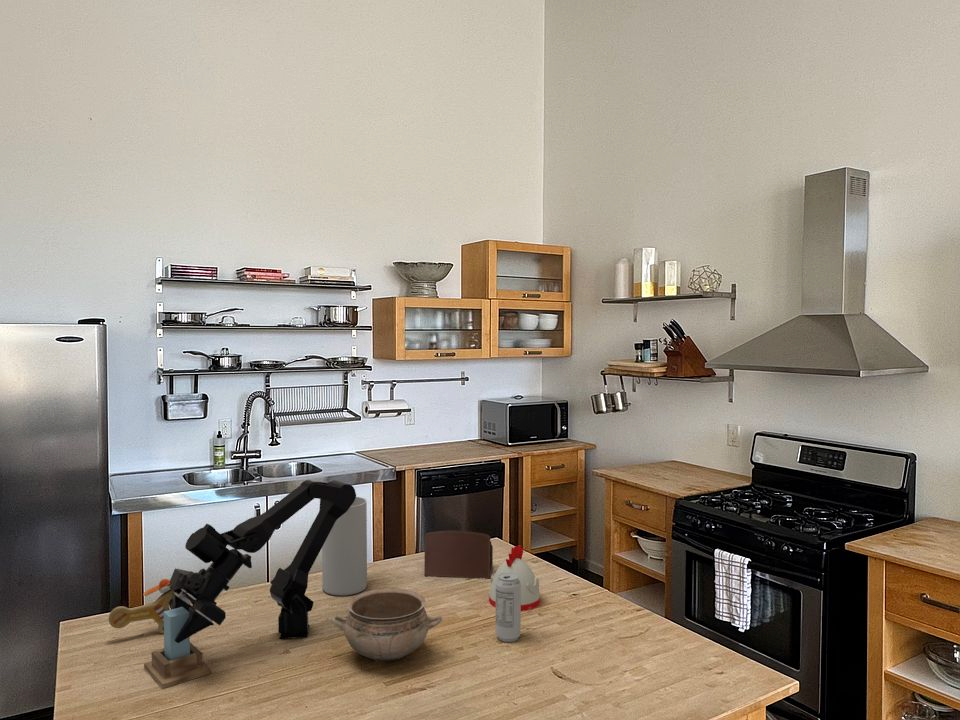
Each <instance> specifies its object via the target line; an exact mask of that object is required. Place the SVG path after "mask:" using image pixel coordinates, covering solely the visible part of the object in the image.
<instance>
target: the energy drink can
mask: <svg viewBox="0 0 960 720" xmlns="http://www.w3.org/2000/svg"><path fill="white" fill-rule="evenodd" d="M521 614H522V611H521V583H520V581H519V579H518V575H516V574H514V573H502V574H500V575H499V576H498V580H497V581H496V608H495V635H496V637H497V639H498V640H499V641H501V642H504V643H513V642H516V641H518V640H519V637H520V636H521V633H522V631H521V629H522V628H521V626H522V625H521V621H522V620H521V619H522V618H521Z"/></svg>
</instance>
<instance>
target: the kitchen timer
mask: <svg viewBox="0 0 960 720" xmlns="http://www.w3.org/2000/svg"><path fill="white" fill-rule="evenodd" d="M510 551H511V552H509V553H508V558H505V561H504V562H503V563H501V564H500V565H499V567H498V568H497V569H496V572H494V574H491V576H490V584H491V585H490V587H489V590H488V591H489V592H488V603H489V602H490V603H489V604H490V605H491V606H492V607H493V608H495V609H496V581H497V580H498V576H499V575H500V574H502V573H514V574H516V575H518V579H519V581H520V583H521V612H525V611H529V610H533V609H534V608H538V607H539V605H540V604H541V593H540V581H539V577H536V576H535V574H534V572H533V570H532V569H531V567H530V565H528V564H527V562H525V561H524V560H523V554H524V548H523V547H522V545H519V544H518V545H516V546H514V547H511V549H510Z"/></svg>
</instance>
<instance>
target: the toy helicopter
mask: <svg viewBox="0 0 960 720" xmlns="http://www.w3.org/2000/svg"><path fill="white" fill-rule="evenodd" d="M169 582H170V579H167V578H162V579H161V580H160V581H159V583H158V585H155V586H153V587H151V588H149V589H147V590H145V592H144V593H143V594H142V595H143V596H144V597H147V596H149V595H151V594H153V593H156V592H158V591H159V593H160V594H161V595H160V596H159V597H158V598H157V599H156V600H155V601H153V602H152V603H147V604H143V605H139V606H134V607H132V608H131V607H126V606H123V605H122V606H121V605H120V606H116V607H114V608H113V609H112V610H111V611H110V613H109V615H108V623H109V625H110V626H111V627H112V628H114V629H122V628H125V627H127V626H128V625H129V624H130V623H132V622H133V623H134V622H139V621H146V620H153V621H154V622H155V623H156V624H157V629H158V632H159V633H160V634H164V630H163V629H162V628H163V626H164V611H168V610H171V608H172V605H173V599H172V595H171V593H174V594H175V593H176V592H174V591H173V590H171V589H170V587H171V585H172V584H170V583H169ZM190 605H191V606H192V607H193V608H194V607H195V604H194V605H193V604H190ZM194 610H195V611H196V610H197V609H196V608H195V609H194Z"/></svg>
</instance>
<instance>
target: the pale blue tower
mask: <svg viewBox="0 0 960 720" xmlns="http://www.w3.org/2000/svg"><path fill="white" fill-rule="evenodd" d="M188 618H189V612H188V611H187V610H186V609H184V608H183V607H180V608H176V609H172V610H171V609H170V610H168V611H164V633H163V648H164V655H165V658H166V659H167V660H168V661H170V660H173V659H177V658H180V657H183V656H186V655H190V642H191V640H190V639H191V638H190V637H191V636H190V637H188V638H187V639H185V640H183V641H181V642H180V643H177V642H175V638H176V636H177V635H178V633H179V632H180V630H181V628H182V627H183V625H184V624H185V622H186V621H187V619H188Z"/></svg>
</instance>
